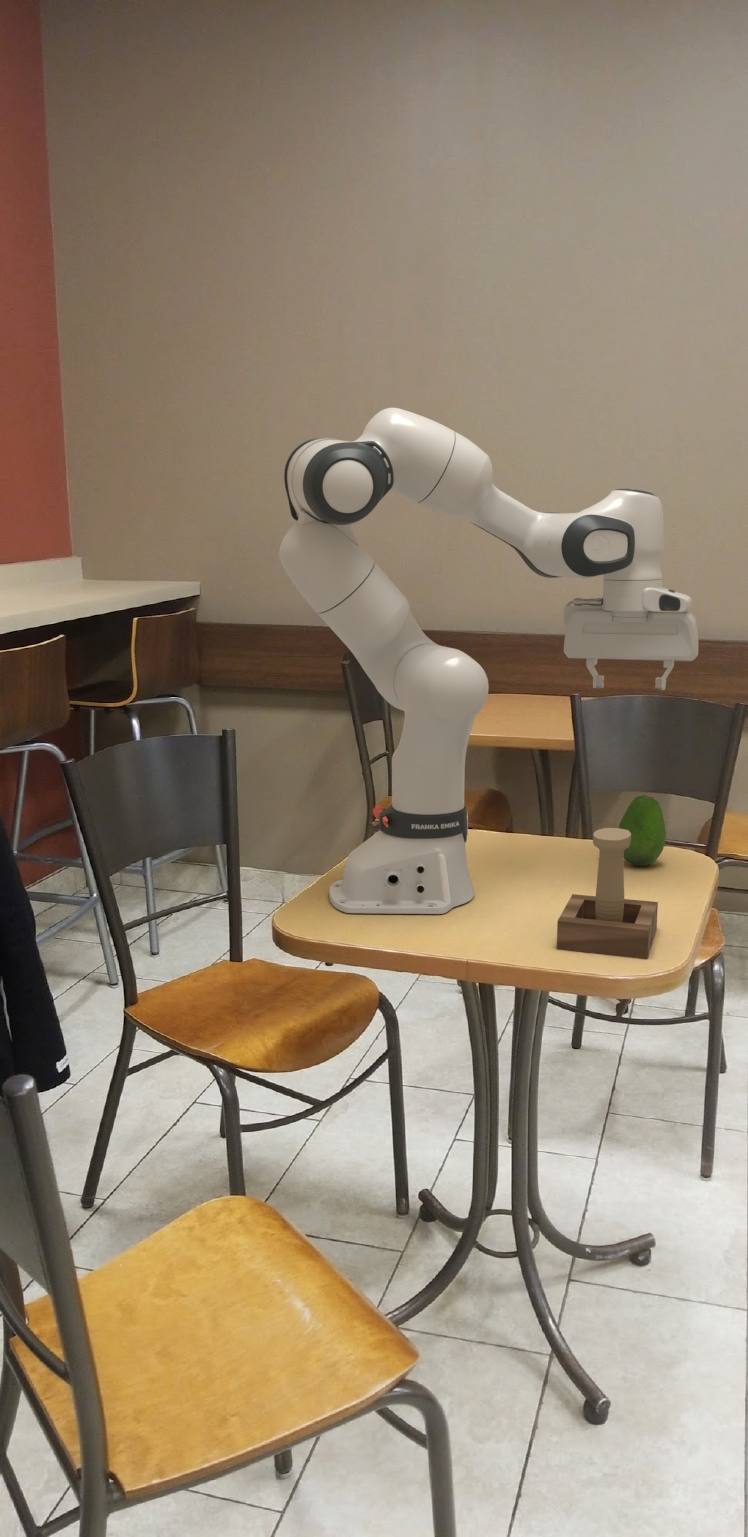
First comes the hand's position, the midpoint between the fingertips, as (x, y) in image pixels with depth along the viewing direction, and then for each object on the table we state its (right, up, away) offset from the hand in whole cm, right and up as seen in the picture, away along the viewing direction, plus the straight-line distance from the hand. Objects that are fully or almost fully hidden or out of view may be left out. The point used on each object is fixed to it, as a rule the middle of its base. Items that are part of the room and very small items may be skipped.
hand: (629, 688), depth 179 cm
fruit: (+5, -29, +15) cm, 33 cm away
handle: (-7, -36, -19) cm, 41 cm away
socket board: (-7, -36, -19) cm, 41 cm away
